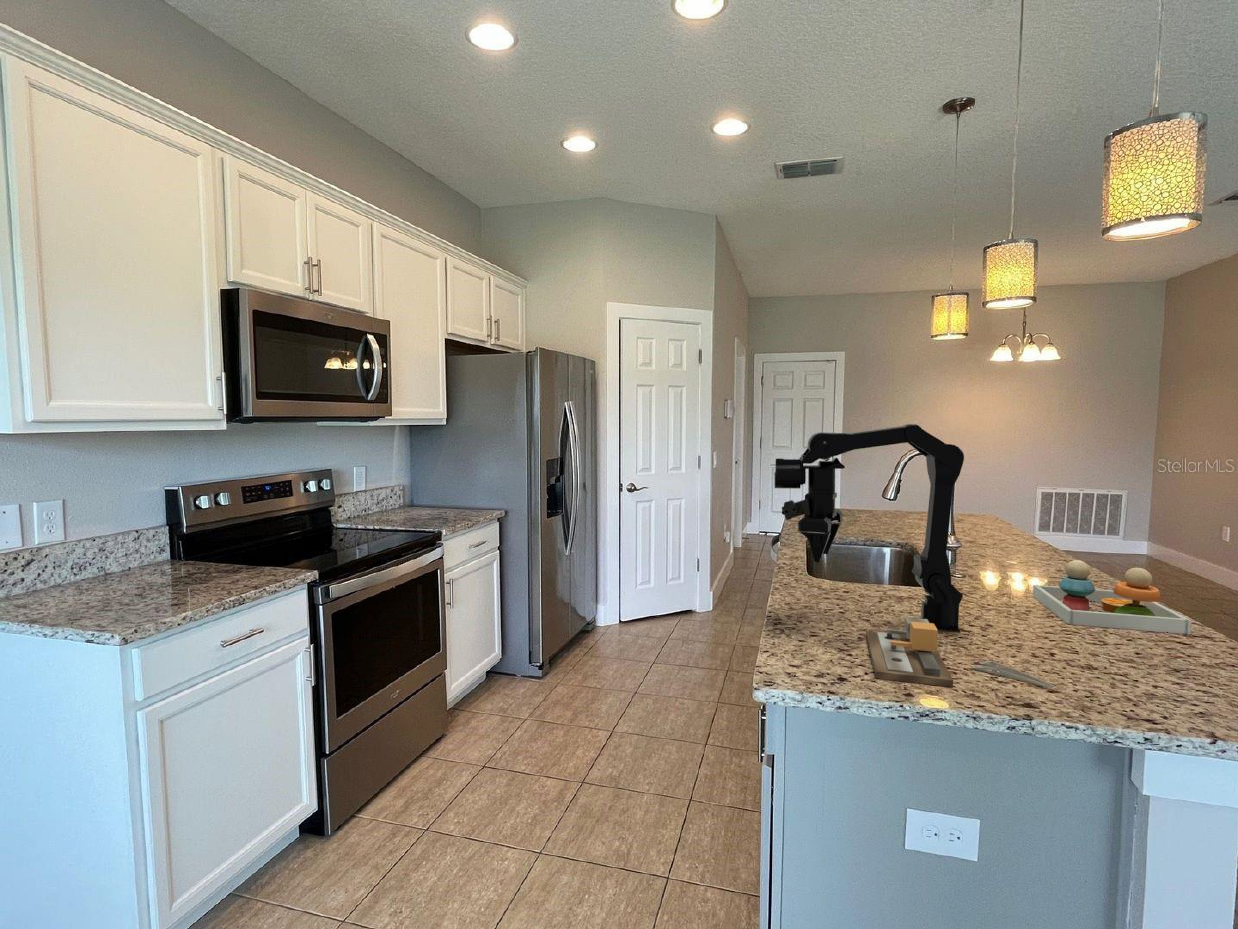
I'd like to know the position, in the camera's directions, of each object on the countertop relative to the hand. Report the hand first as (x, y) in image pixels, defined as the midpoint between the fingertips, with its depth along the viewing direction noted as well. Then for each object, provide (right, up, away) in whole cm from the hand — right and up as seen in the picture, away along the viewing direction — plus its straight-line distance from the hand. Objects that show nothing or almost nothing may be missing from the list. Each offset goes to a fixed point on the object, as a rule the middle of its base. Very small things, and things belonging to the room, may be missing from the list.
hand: (821, 557), depth 139 cm
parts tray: (+67, -14, +5) cm, 69 cm away
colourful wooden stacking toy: (+68, -14, +5) cm, 69 cm away
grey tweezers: (+25, -17, -33) cm, 45 cm away
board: (+8, -16, -23) cm, 29 cm away
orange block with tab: (+9, -14, -24) cm, 29 cm away
